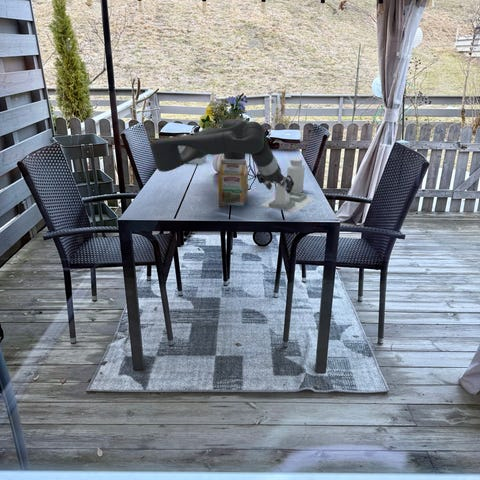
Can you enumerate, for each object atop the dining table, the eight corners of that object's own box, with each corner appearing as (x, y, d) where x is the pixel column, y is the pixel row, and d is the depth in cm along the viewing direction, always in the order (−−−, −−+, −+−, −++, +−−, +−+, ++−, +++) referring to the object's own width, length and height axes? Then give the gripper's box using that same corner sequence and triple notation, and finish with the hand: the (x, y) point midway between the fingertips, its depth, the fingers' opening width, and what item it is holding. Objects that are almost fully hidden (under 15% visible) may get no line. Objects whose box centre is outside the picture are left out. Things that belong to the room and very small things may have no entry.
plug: (284, 208, 170) (285, 183, 166) (273, 206, 172) (274, 182, 168) (289, 205, 174) (290, 181, 169) (278, 203, 176) (279, 179, 172)
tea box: (176, 162, 246) (175, 137, 240) (183, 159, 254) (182, 134, 248) (200, 164, 242) (199, 139, 236) (206, 161, 250) (206, 136, 244)
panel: (295, 215, 166) (295, 208, 165) (259, 207, 174) (259, 201, 173) (315, 201, 182) (315, 195, 181) (282, 195, 190) (282, 189, 189)
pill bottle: (289, 193, 192) (291, 161, 186) (283, 189, 199) (285, 157, 193) (305, 192, 194) (308, 160, 188) (298, 187, 201) (301, 156, 195)
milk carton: (218, 207, 174) (218, 162, 167) (223, 199, 184) (223, 156, 176) (243, 208, 173) (244, 163, 165) (247, 200, 182) (248, 157, 175)
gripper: (247, 171, 154) (260, 194, 168) (281, 178, 147) (292, 201, 161) (254, 155, 156) (267, 178, 170) (289, 160, 149) (299, 185, 163)
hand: (279, 189), depth 165 cm, fingers open, 8 cm apart
